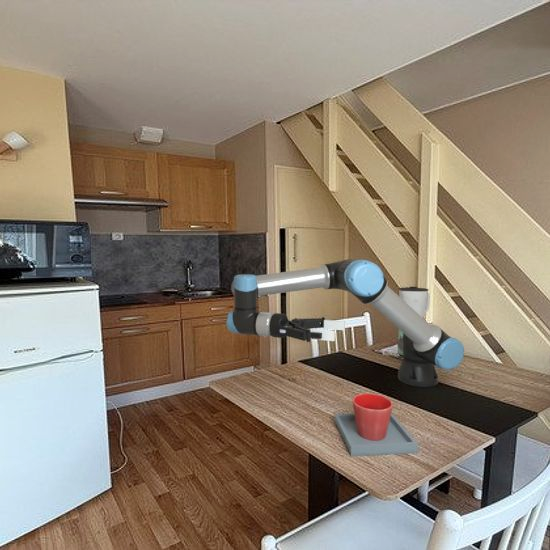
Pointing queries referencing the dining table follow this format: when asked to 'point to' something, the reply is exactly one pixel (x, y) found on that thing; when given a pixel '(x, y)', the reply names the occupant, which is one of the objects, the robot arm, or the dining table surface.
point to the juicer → (413, 306)
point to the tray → (391, 444)
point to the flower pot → (372, 415)
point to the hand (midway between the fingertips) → (340, 330)
